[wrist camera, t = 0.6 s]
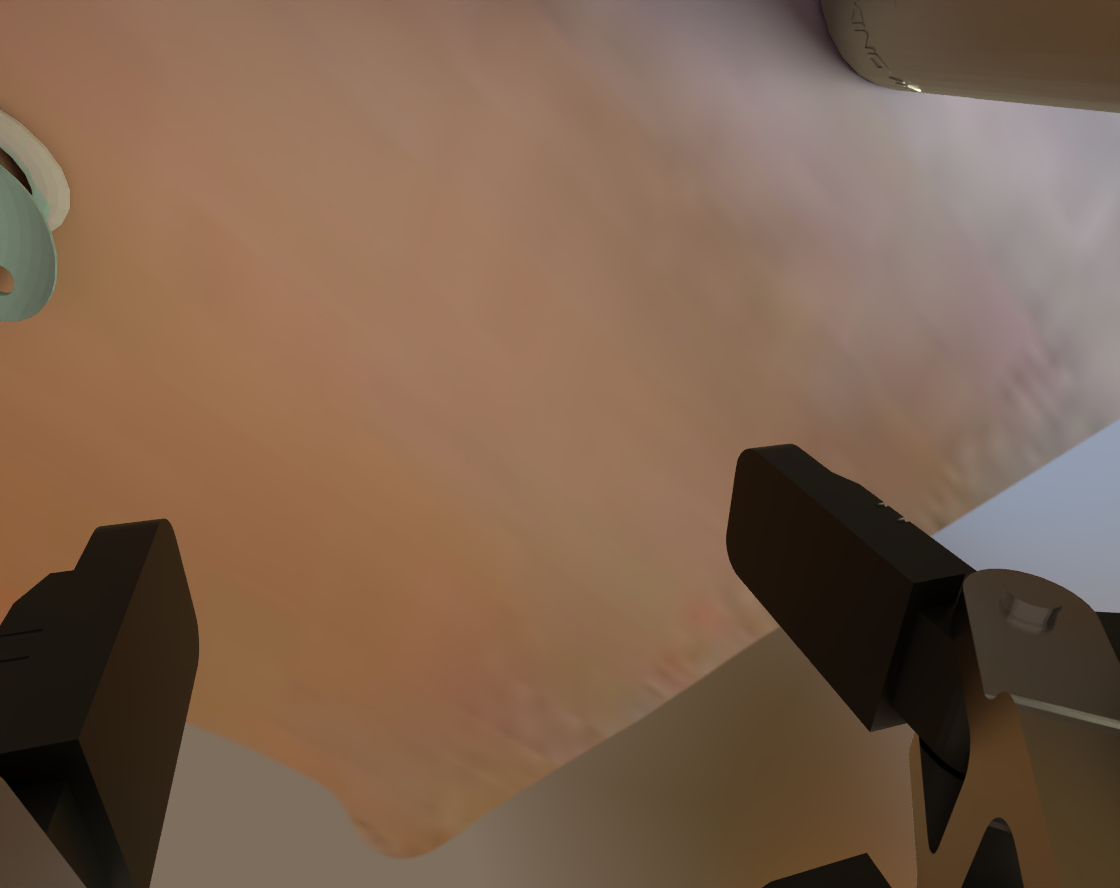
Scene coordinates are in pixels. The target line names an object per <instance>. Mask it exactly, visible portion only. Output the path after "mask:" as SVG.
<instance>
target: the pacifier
mask: <svg viewBox="0 0 1120 888" xmlns="http://www.w3.org/2000/svg"><path fill="white" fill-rule="evenodd" d="M0 148H2V149H3V150H4V151H5V152H6V153H7V154H8V155H10V156H11V157H12V158H13V160H14V161H15V162H16V163H17V165H18V166H19V167H20V168H21V170H22V171H23V172H24V173H25V175H26V177H27V180H28V182H29V184H30V186H31V189H32V195H31V194H30V193H29V192H28V190H27V189H26V188H25V187H24V186H23V185H22V184H21V183H20V182H19V180H18V179H16V178H15V177H14V176H13V175H12V174H11V173H10V172H9V171H7V170H6V169H5V168H4V167H3V166H1V165H0V266H2V267H4V268H5V269H7V270H8V271H9V272H10V273H11V275H12V277H13V279H14V283H15V284H14V289H13V291H12V292H10V293H4V292H1V291H0V320H1V321H20V320H23V319H26V318H30V317H32V316H33V315H35V314H36V313H38V312H39V311H40V310H41V309H42V308H43V307H44V306H45V305H46V303H47V302H48V301H49V299H50V297H51V295H52V293H53V291H54V289H55V285H56V280H57V268H58V261H57V254H56V247H55V243H54V240H53V236H52V231H53V230H55V229H56V228H58V227H59V226H60V225H61V224H62V223H63V221H64V219H65V217H66V215H67V214H68V212H69V210H70V189H69V187H68V184H67V181H66V179H65V176H64V174H63V171H62V169H61V167H60V166H59V164H58V163H57V162H56V160H55V159H54V158H53V156H52V155H51V153H50V152H49V151H48V149H47V148H46V147H45V145H44V144H42V143H41V142H40V141H39V140H38V139H37V138H36V137H35V136H34V135H33V134H32V133H31V132H30V131H28V130H27V129H26V128H25V127H24V126H23V125H22V124H21V123H20V122H18V121H17V120H15V119H14V118H13V117H11V116H10V115H8V114H7V113H5V112H4V111H2V110H1V109H0Z"/></svg>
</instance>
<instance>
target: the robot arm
mask: <svg viewBox="0 0 1120 888" xmlns="http://www.w3.org/2000/svg"><path fill="white" fill-rule="evenodd" d="M821 7H822V11H823V14H824V17H825V21H826V24H827V27H828V30H829V34H830V36H831V38H832V40H833V41H834V43H835V45H836V47H837V49H838V50H839V52H840V54H841V56H842V58H843V59H844V60H845V61H846V62H847V63H848V64H849V65H850V66H851V67H852V68H853V69H854V70H855V71H856V72H857V73H858V74H859V75H860V76H862V77H864V78H866V79H867V80H869V81H871V82H873V83H874V84H876V85H878V86H882V87H887V88H891V89H895V90H901V91H911V92H920V93H930V94H940V95H950V96H959V97H969V98H975V99H984V100H994V101H1004V102H1014V103H1024V104H1034V105H1044V106H1054V107H1064V108H1074V109H1084V110H1094V111H1104V112H1114V113H1120V0H821ZM726 545H727V552H728V556H729V560H730V563H731V565H732V567H733V569H734V571H735V573H736V574H737V575H738V577H739V578H740V579H741V580H742V581H743V583H744V584H745V585H746V586H747V587H748V589H749V590H750V591H751V592H752V593H753V594H754V596H755V597H756V598H757V599H758V600H759V602H760V603H761V604H762V605H763V606H764V607H765V609H766V610H767V611H768V612H769V613H770V615H771V616H772V617H773V618H774V619H775V620H776V622H777V623H778V624H779V625H780V626H781V628H782V629H783V630H784V631H785V632H786V633H787V635H788V636H789V637H790V638H791V639H792V641H793V642H794V643H795V644H796V645H797V646H798V648H799V649H801V651H802V652H803V653H804V655H805V656H806V657H807V658H808V659H809V660H810V662H811V663H812V664H813V665H814V666H815V667H816V669H817V670H818V671H819V672H820V673H821V675H822V676H823V677H824V678H825V679H826V681H827V682H828V683H829V684H830V685H831V687H832V688H833V689H834V690H835V691H836V692H837V694H838V695H839V696H840V697H841V698H842V700H843V701H844V702H845V703H846V704H847V705H848V707H849V708H850V709H851V710H852V711H853V713H854V714H855V715H856V716H857V717H858V718H859V720H860V721H861V722H862V723H863V724H864V726H865V727H866V728H867V729H868V730H869V731H870V732H873V731H877V730H881V729H885V728H889V727H893V726H897V725H901V724H905V723H907V724H908V725H909V726H910V727H911V728H912V729H913V730H914V731H915V732H914V735H913V738H912V742H911V744H910V748H909V764H910V779H911V793H912V808H913V821H914V836H915V851H916V864H917V888H1120V613H1109V612H1094V610H1093V609H1092V608H1091V607H1090V606H1089V605H1088V604H1087V603H1086V602H1084V601H1083V600H1082V599H1081V598H1079V597H1078V596H1077V595H1075V594H1074V593H1072V592H1071V591H1069V590H1067V589H1065V588H1064V587H1062V586H1060V585H1058V584H1055V583H1053V582H1051V581H1049V580H1046V579H1044V578H1041V577H1038V576H1035V575H1032V574H1028V573H1024V572H1020V571H1014V570H1007V569H986V570H980V571H976V570H974V569H973V568H972V567H970V566H969V565H968V564H966V563H965V562H963V561H962V560H961V559H959V558H958V557H957V556H955V555H954V554H953V553H951V552H950V551H949V550H947V549H946V548H945V547H943V546H942V545H941V544H939V543H938V542H937V541H935V540H934V539H933V538H931V537H930V536H929V535H927V534H926V533H925V532H923V531H922V530H921V529H919V528H918V527H916V526H915V525H914V524H912V523H911V522H905V520H904V517H903V516H902V515H900V514H899V513H898V512H896V511H895V510H894V509H892V508H891V507H889V506H887V507H885V506H884V502H883V501H881V500H880V499H879V498H877V497H876V496H875V495H873V494H872V493H871V492H869V491H868V490H867V489H865V488H864V487H863V486H861V485H860V484H858V483H855V482H853V481H851V480H849V479H846V478H844V477H842V476H839V475H837V474H835V473H832V472H831V471H830V470H828V469H827V468H826V467H824V466H823V465H822V464H820V463H819V462H818V461H816V460H815V459H814V458H812V457H811V456H810V455H808V454H807V453H806V452H805V451H803V450H802V449H801V448H799V447H798V446H796V445H794V444H783V445H775V446H767V447H758V448H750V449H746V450H744V451H743V452H742V453H741V454H740V456H739V458H738V461H737V465H736V472H735V479H734V485H733V492H732V499H731V506H730V513H729V520H728V527H727V534H726ZM198 659H199V635H198V625H197V619H196V615H195V611H194V607H193V603H192V599H191V595H190V591H189V587H188V583H187V579H186V576H185V572H184V568H183V564H182V560H181V556H180V552H179V548H178V544H177V540H176V537H175V533H174V530H173V528H172V526H171V524H170V522H169V521H168V520H167V519H157V520H149V521H140V522H132V523H124V524H116V525H108V526H100V527H98V528H96V529H95V531H94V532H93V534H92V536H91V538H90V540H89V542H88V544H87V546H86V548H85V549H84V551H83V553H82V555H81V557H80V559H79V561H78V563H77V565H76V567H75V569H74V570H72V571H65V572H57V573H50V574H49V575H48V576H47V577H45V578H44V579H43V580H42V581H40V582H39V583H38V584H37V585H36V586H34V587H33V588H32V589H31V590H29V591H28V592H27V593H26V594H25V595H23V596H22V597H21V598H20V599H18V600H17V601H16V602H15V603H14V604H13V605H12V607H11V609H10V610H9V612H8V614H7V615H6V617H5V619H4V620H3V622H2V624H1V625H0V888H149V887H150V881H151V877H152V873H153V868H154V863H155V859H156V854H157V849H158V845H159V841H160V836H161V831H162V827H163V822H164V818H165V813H166V809H167V804H168V799H169V795H170V790H171V786H172V781H173V777H174V772H175V767H176V763H177V758H178V754H179V748H180V744H181V740H182V735H183V730H184V726H185V722H186V717H187V712H188V708H189V703H190V699H191V694H192V690H193V685H194V680H195V676H196V671H197V666H198ZM763 888H891V887H890V885H889V883H888V882H887V881H886V879H885V878H884V876H883V875H882V874H881V872H880V871H879V869H878V868H877V867H876V865H875V864H874V862H873V861H872V860H871V858H870V857H869V855H868V854H867V853H865V854H861V855H858V856H855V857H851V858H848V859H844V860H841V861H838V862H835V863H831V864H828V865H825V866H821V867H818V868H815V869H811V870H808V871H805V872H802V873H798V874H795V875H792V876H788V877H785V878H782V879H779V880H775V881H772V882H770V883H768V884H767V885H765V886H764V887H763Z"/></svg>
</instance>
